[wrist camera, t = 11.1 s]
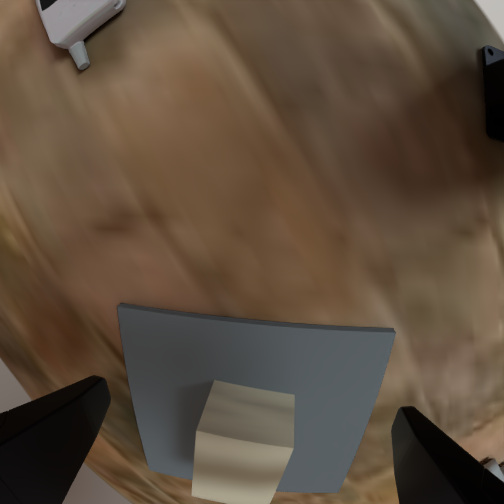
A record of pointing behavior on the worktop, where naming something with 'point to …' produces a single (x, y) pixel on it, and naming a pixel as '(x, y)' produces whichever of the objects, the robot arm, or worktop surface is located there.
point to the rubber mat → (253, 384)
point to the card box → (242, 444)
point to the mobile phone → (75, 22)
